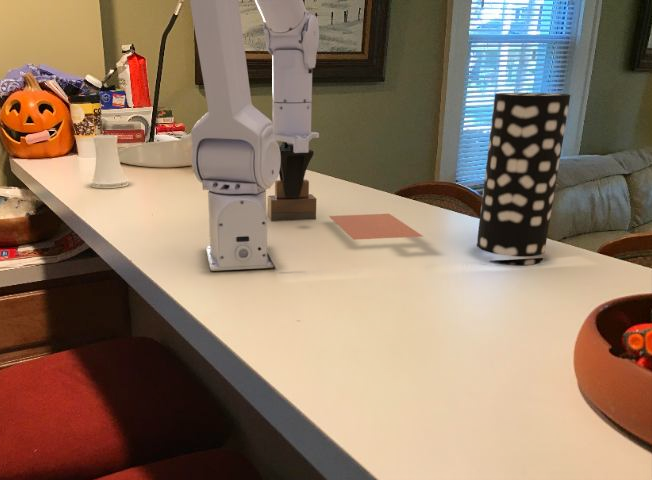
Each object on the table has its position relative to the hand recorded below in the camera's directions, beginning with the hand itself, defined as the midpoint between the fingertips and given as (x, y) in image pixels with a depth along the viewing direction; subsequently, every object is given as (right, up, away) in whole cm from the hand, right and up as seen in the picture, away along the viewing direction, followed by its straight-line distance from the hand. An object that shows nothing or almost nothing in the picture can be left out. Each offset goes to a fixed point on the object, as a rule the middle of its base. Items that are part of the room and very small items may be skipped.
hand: (291, 195), depth 93 cm
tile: (+12, -6, -3) cm, 14 cm away
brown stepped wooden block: (0, -4, +1) cm, 4 cm away
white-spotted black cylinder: (+28, -11, -14) cm, 33 cm away
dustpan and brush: (-26, +17, +58) cm, 66 cm away
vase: (-37, +8, +34) cm, 51 cm away
